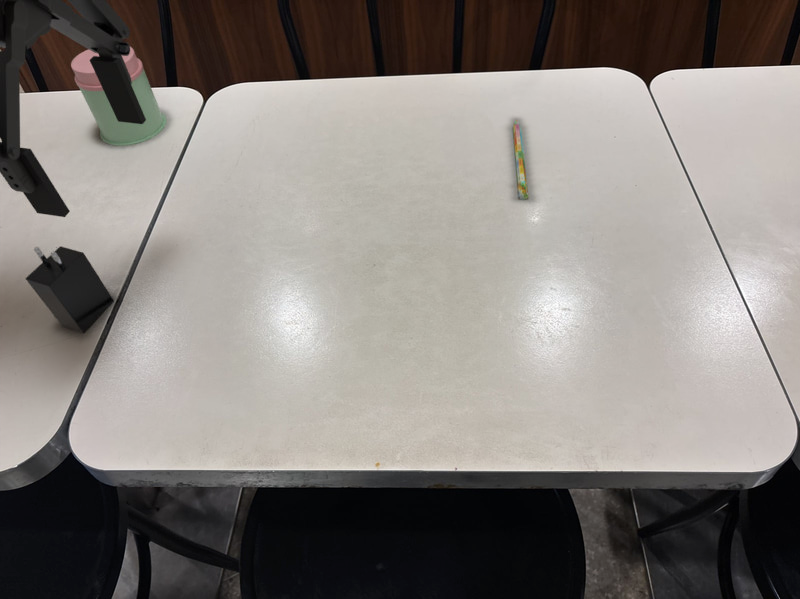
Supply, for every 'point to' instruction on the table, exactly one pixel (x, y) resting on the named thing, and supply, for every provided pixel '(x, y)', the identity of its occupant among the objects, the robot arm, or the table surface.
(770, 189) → the table surface
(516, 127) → the pencil
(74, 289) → the wall charger plug
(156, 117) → the green canister pink lid
